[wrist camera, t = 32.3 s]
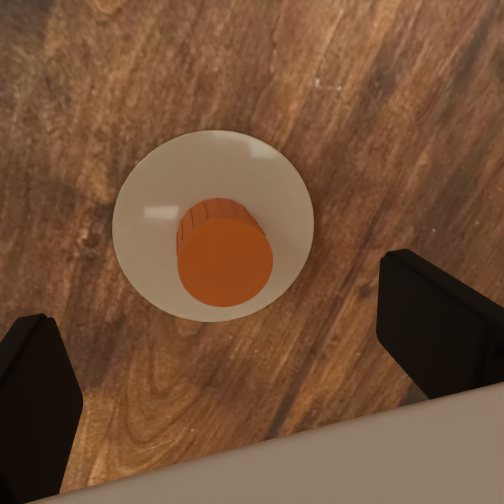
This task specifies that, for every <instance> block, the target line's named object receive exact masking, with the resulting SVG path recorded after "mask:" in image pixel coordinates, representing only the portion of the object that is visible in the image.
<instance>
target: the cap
mask: <svg viewBox="0 0 504 504" xmlns="http://www.w3.org/2000/svg"><path fill="white" fill-rule="evenodd" d="M265 236H266V235H265V233H264V232H263V230H262V229H261V227H260V226H259V224H258V223H257V222H256V220H255V219H254V217H253V216H252V217H251V215H250V214H249V212H248V211H247V210H246V208H245V207H244V206H241V205H240V204H238V203H237V202H234V201H233V200H229V199H224V198H212V199H207V200H204V201H201V202H199V203H197V204H196V205H194V206H193V207H192V208H190V209H189V210H188V211H187V213H186V214H185V215H184V217H183V218H182V219H181V220H180V225H179V228H178V232H177V233H176V256H177V270H178V273H179V277H180V280H181V282H182V284H183V286H184V288H185V289H186V290H187V292H188V293H189V294H190V295H191V296H193V297H194V298H195V299H197V300H198V301H200V302H202V303H204V304H207V305H210V306H215V307H231V306H236V305H239V304H242V303H244V302H246V301H248V300H250V299H252V298H253V297H255V296H256V295H257V294H258V293H259V292H260V291H261V290H262V289H263V288H264V286H265V285H266V283H267V281H268V280H269V277H270V275H271V272H272V268H273V254H272V250H271V247H270V244H269V242H268V240H267V239H266V237H265Z"/></svg>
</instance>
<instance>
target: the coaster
mask: <svg viewBox="0 0 504 504" xmlns="http://www.w3.org/2000/svg"><path fill="white" fill-rule="evenodd" d="M212 198H224V199H229V200H233V201H234V202H237V203H238V204H240V205H241V206H244V207H245V208H246V210H247V211H248V212H249V214H250V215H251V217H252V216H253V217H254V219H255V220H256V222H257V223H258V224H259V226H260V227H261V229H262V230H263V232H264V233H265V235H266V236H265V237H266V239H267V240H268V242H269V244H270V247H271V250H272V254H273V268H272V272H271V275H270V277H269V280H268V281H267V283H266V285H265V286H264V288H263V289H262V290H261V291H260V292H259V293H258V294H257V295H256V296H255V297H253V298H252V299H250V300H248V301H246V302H244V303H242V304H239V305H236V306H231V307H215V306H210V305H207V304H204V303H202V302H200V301H198V300H197V299H195V298H194V297H193V296H191V295H190V294H189V293H188V292H187V290H186V289H185V288H184V286H183V284H182V282H181V280H180V277H179V273H178V270H177V256H176V233H177V232H178V228H179V225H180V220H181V219H182V218H183V217H184V215H185V214H186V213H187V211H188V210H189V209H190V208H192V207H193V206H194V205H196V204H197V203H199V202H201V201H204V200H207V199H212ZM313 233H314V216H313V207H312V203H311V199H310V195H309V193H308V190H307V188H306V185H305V183H304V181H303V180H302V178H301V176H300V174H299V173H298V172H297V170H296V169H295V168H294V166H293V165H292V164H291V163H290V162H289V161H288V160H287V159H286V158H285V157H284V156H283V155H282V154H281V153H280V152H278V151H277V150H276V149H275V148H273V147H272V146H270V145H268V144H267V143H265V142H263V141H261V140H259V139H257V138H254V137H252V136H249V135H247V134H244V133H240V132H236V131H231V130H222V129H206V130H198V131H193V132H188V133H185V134H182V135H179V136H176V137H174V138H172V139H169V140H167V141H165V142H163V143H162V144H160V145H159V146H157V147H156V148H154V149H153V150H151V151H150V152H149V153H148V154H147V155H146V156H145V157H144V158H142V159H141V160H140V161H139V163H138V164H137V165H136V166H135V168H134V169H133V170H132V171H131V173H130V174H129V176H128V177H127V179H126V181H125V182H124V184H123V186H122V188H121V190H120V193H119V195H118V197H117V201H116V204H115V208H114V213H113V222H112V236H113V243H114V249H115V253H116V256H117V259H118V262H119V264H120V266H121V268H122V270H123V272H124V274H125V276H126V277H127V279H128V280H129V282H130V283H131V285H132V286H133V287H134V288H135V289H136V290H137V291H138V292H139V293H140V295H142V296H143V297H144V298H145V299H146V300H148V301H149V302H150V303H151V304H153V305H155V306H156V307H158V308H159V309H161V310H163V311H165V312H167V313H169V314H171V315H174V316H177V317H180V318H183V319H188V320H193V321H201V322H221V321H228V320H233V319H237V318H241V317H244V316H247V315H250V314H252V313H254V312H256V311H258V310H260V309H263V308H264V307H266V306H267V305H269V304H270V303H272V302H273V301H275V300H276V299H277V298H278V297H280V296H281V295H282V294H283V293H284V292H285V291H286V290H287V289H288V288H289V287H290V286H291V284H292V283H293V282H294V281H295V279H296V278H297V277H298V275H299V273H300V272H301V270H302V268H303V266H304V264H305V262H306V260H307V257H308V255H309V251H310V248H311V245H312V239H313Z"/></svg>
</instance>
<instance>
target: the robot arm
mask: <svg viewBox="0 0 504 504" xmlns="http://www.w3.org/2000/svg"><path fill="white" fill-rule="evenodd" d="M376 334H377V338H378V340H379V342H380V343H381V345H382V346H383V347H384V348H385V349H386V350H387V351H388V353H389V354H390V355H391V356H392V357H393V358H394V359H395V361H396V362H397V363H398V364H399V365H400V366H401V367H402V369H403V370H404V371H405V372H406V373H407V374H408V375H409V377H410V378H411V379H412V380H413V381H414V382H415V383H416V385H417V386H418V387H419V388H420V389H421V390H422V391H423V393H424V394H425V395H426V396H427V397H428V398H429V399H430V400H428V401H424V402H420V403H415V404H411V405H407V406H403V407H399V408H395V409H391V410H387V411H383V412H379V413H375V414H371V415H367V416H363V417H359V418H355V419H351V420H347V421H343V422H339V423H335V424H331V425H327V426H323V427H319V428H315V429H311V430H307V431H303V432H299V433H295V434H291V435H287V436H283V437H279V438H275V439H271V440H267V441H263V442H259V443H255V444H252V445H248V446H244V447H240V448H236V449H232V450H228V451H224V452H220V453H216V454H212V455H209V456H205V457H201V458H197V459H193V460H189V461H185V462H181V463H178V464H174V465H170V466H166V467H162V468H158V469H154V470H151V471H147V472H143V473H139V474H135V475H131V476H127V477H123V478H120V479H116V480H112V481H108V482H104V483H100V484H96V485H93V486H89V487H85V488H81V489H77V490H74V491H70V492H66V493H62V494H59V491H60V488H61V484H62V481H63V477H64V473H65V470H66V466H67V463H68V459H69V456H70V452H71V448H72V445H73V441H74V438H75V434H76V431H77V427H78V423H79V420H80V416H81V413H82V409H83V396H82V393H81V390H80V387H79V384H78V382H77V379H76V376H75V373H74V371H73V368H72V365H71V362H70V360H69V357H68V354H67V351H66V349H65V346H64V343H63V340H62V338H61V335H60V332H59V329H58V327H57V324H56V322H55V320H54V318H52V317H50V318H47V316H46V315H45V314H43V313H42V314H36V315H31V316H25V317H20V318H18V319H17V320H16V321H15V322H14V324H13V325H12V327H11V328H10V329H9V331H8V332H7V334H6V335H5V337H4V338H3V339H2V341H1V342H0V504H504V308H503V307H501V306H500V305H498V304H496V303H495V302H493V301H491V300H490V299H488V298H487V297H485V296H483V295H482V294H480V293H478V292H477V291H475V290H474V289H472V288H470V287H469V286H467V285H465V284H464V283H462V282H461V281H459V280H457V279H456V278H454V277H452V276H451V275H449V274H448V273H446V272H444V271H443V270H441V269H439V268H438V267H436V266H435V265H433V264H431V263H430V262H428V261H426V260H425V259H423V258H422V257H420V256H418V255H417V254H415V253H413V252H412V251H410V250H409V249H401V250H395V251H389V252H387V253H386V254H385V257H383V258H381V260H380V271H379V289H378V307H377V325H376Z"/></svg>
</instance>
